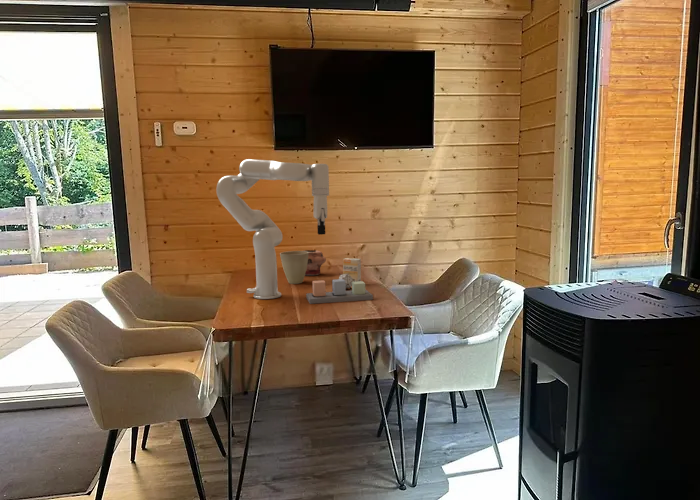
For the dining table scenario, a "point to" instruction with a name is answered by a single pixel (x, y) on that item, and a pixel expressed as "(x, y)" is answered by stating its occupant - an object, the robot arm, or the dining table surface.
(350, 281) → the game die
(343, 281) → the slate block
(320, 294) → the terracotta block
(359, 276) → the supplement box
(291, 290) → the dining table surface
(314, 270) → the decorative planter
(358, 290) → the sage block
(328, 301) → the board
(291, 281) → the plant pot
